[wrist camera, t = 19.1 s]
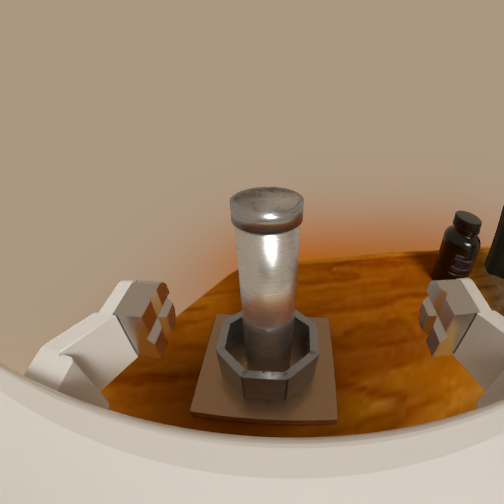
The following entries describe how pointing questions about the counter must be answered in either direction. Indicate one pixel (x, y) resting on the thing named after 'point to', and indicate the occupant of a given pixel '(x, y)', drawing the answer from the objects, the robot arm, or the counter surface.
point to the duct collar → (268, 378)
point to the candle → (497, 251)
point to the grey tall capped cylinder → (267, 272)
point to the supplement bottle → (458, 248)
